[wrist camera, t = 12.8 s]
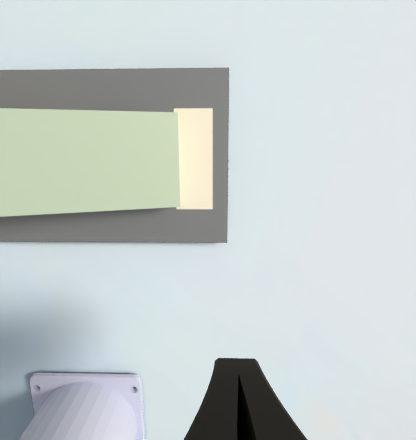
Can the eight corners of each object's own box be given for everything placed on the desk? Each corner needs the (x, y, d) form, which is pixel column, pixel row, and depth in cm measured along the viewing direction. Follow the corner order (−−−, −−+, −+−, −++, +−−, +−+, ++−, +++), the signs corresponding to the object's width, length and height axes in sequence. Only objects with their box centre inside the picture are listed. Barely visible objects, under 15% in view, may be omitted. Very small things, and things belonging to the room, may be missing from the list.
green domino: (177, 112, 16) (-48, 106, 14) (180, 206, 17) (-28, 218, 15) (172, 115, 18) (-32, 111, 15) (175, 202, 19) (-14, 211, 16)
